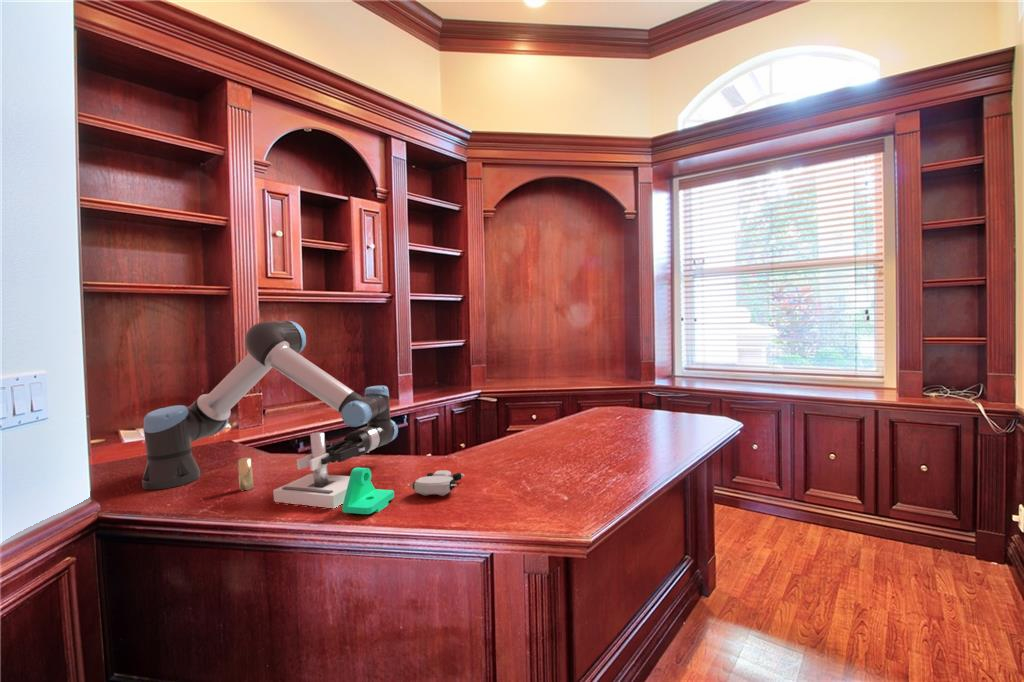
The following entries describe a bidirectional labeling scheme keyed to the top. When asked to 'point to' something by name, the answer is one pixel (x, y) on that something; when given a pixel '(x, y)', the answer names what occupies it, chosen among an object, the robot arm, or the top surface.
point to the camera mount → (364, 494)
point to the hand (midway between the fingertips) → (304, 464)
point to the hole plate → (313, 492)
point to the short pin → (245, 473)
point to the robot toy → (436, 483)
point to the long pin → (318, 450)
